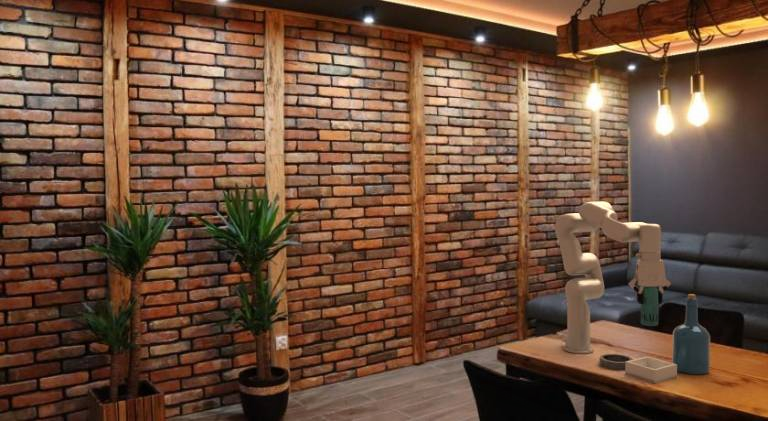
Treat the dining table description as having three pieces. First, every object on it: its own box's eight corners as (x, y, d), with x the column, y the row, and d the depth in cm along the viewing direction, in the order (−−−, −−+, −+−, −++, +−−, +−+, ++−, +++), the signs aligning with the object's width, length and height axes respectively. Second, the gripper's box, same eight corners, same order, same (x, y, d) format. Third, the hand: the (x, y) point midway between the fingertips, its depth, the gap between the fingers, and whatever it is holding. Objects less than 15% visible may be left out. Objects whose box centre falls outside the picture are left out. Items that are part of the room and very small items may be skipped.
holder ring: (593, 364, 262) (593, 356, 262) (613, 359, 269) (613, 352, 268) (618, 372, 252) (618, 364, 251) (639, 366, 258) (639, 359, 258)
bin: (625, 374, 249) (625, 361, 248) (647, 368, 255) (647, 356, 255) (655, 383, 238) (655, 370, 237) (676, 377, 244) (677, 364, 244)
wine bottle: (707, 377, 244) (709, 299, 242) (669, 372, 251) (670, 295, 249) (711, 368, 255) (712, 293, 254) (674, 363, 262) (676, 290, 261)
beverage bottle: (646, 325, 251) (646, 274, 250) (662, 328, 245) (662, 276, 244) (636, 327, 247) (636, 275, 246) (652, 330, 242) (652, 277, 241)
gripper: (631, 258, 241) (631, 305, 242) (677, 257, 241) (676, 304, 242) (623, 255, 248) (623, 301, 249) (667, 254, 249) (667, 301, 250)
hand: (649, 302), depth 246 cm, fingers closed on beverage bottle, 6 cm apart
